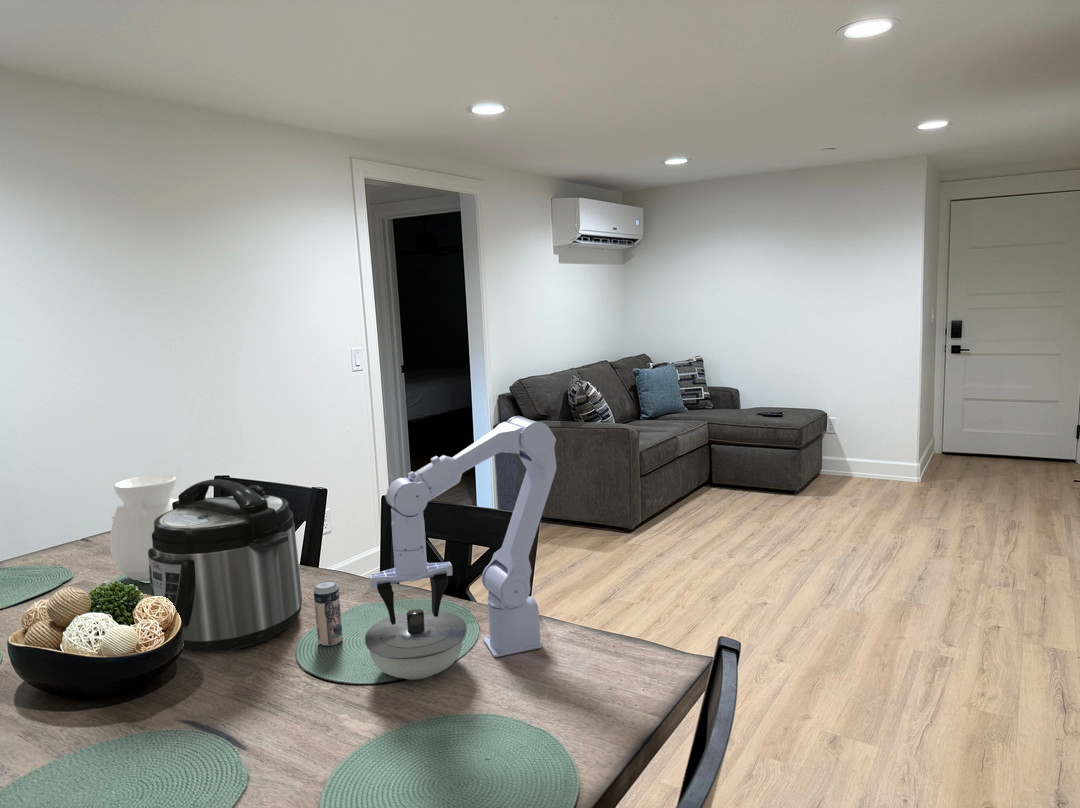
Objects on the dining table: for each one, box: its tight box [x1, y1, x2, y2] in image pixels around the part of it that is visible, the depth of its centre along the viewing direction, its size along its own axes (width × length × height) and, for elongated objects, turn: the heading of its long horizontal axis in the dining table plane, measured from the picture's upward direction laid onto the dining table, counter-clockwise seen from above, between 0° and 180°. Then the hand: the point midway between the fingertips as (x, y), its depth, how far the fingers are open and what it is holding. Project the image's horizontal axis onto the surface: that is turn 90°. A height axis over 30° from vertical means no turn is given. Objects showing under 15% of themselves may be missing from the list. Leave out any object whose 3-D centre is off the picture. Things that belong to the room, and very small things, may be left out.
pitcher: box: [109, 474, 179, 581], centre depth 185 cm, size 19×18×25 cm
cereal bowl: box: [369, 639, 464, 680], centre depth 135 cm, size 17×17×7 cm
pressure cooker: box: [148, 478, 303, 654], centre depth 153 cm, size 30×28×32 cm
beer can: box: [313, 580, 344, 646], centre depth 147 cm, size 5×5×12 cm
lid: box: [364, 608, 468, 659], centre depth 133 cm, size 18×18×4 cm
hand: (414, 618), depth 134 cm, fingers open, 7 cm apart
